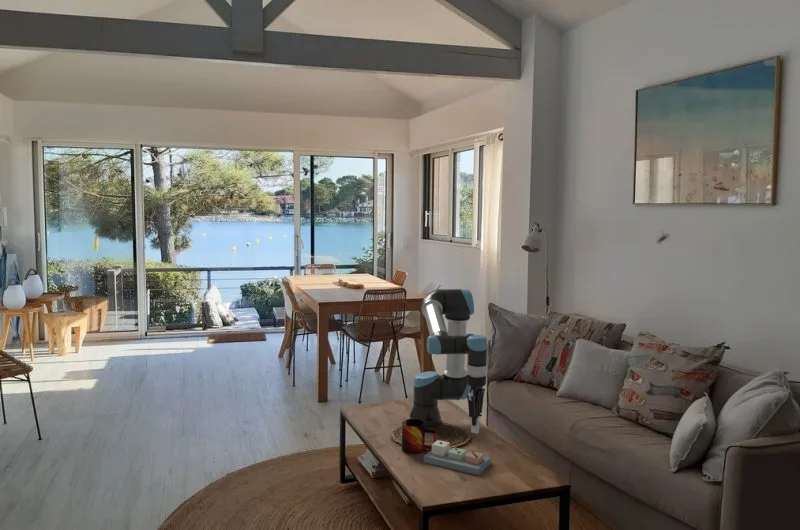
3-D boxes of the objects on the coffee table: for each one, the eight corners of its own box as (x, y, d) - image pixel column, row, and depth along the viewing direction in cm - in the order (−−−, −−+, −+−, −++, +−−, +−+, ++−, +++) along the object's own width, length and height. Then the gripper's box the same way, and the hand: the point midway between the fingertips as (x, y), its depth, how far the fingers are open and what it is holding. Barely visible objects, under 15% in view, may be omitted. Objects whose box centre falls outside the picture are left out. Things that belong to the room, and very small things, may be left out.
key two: (453, 457, 266) (454, 446, 265) (466, 459, 263) (466, 449, 263) (448, 461, 261) (448, 451, 261) (460, 464, 258) (460, 454, 258)
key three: (470, 460, 262) (470, 450, 262) (483, 463, 259) (483, 453, 259) (465, 465, 257) (465, 455, 257) (477, 468, 255) (478, 457, 254)
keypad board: (437, 450, 274) (437, 445, 273) (490, 463, 262) (490, 457, 262) (423, 461, 262) (423, 456, 262) (478, 475, 251) (478, 469, 250)
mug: (436, 452, 272) (437, 425, 271) (405, 455, 269) (405, 427, 267) (430, 443, 282) (430, 417, 280) (399, 446, 278) (399, 419, 277)
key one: (437, 449, 269) (437, 439, 269) (449, 452, 267) (449, 441, 266) (431, 454, 265) (431, 443, 264) (443, 457, 262) (443, 446, 261)
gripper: (474, 369, 262) (472, 425, 265) (461, 377, 250) (459, 435, 253) (491, 372, 258) (489, 429, 261) (479, 380, 247) (477, 439, 250)
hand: (475, 432), depth 257 cm, fingers closed
